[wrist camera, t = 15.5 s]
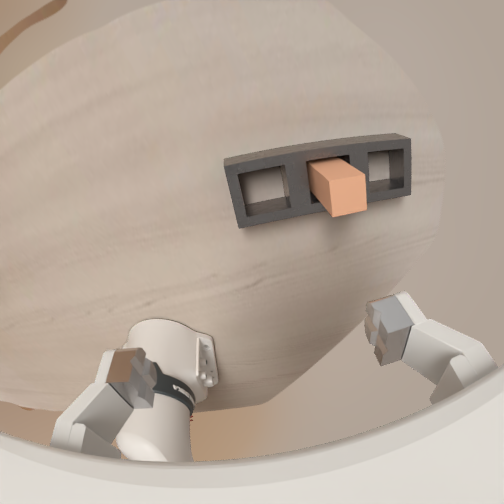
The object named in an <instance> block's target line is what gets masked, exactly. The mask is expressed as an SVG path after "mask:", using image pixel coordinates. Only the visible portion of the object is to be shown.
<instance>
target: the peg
mask: <svg viewBox="0 0 504 504" xmlns="http://www.w3.org/2000/svg"><path fill="white" fill-rule="evenodd" d="M306 166H307V174H308V182H309V189H310V190H311V192H312V193H313V194H314V195H315V196H316V198H317V199H318V200H319V201H320V202H321V204H322V205H323V206H324V207H325V208H326V210H327V211H328V212H329V213H330V215H331V216H332V217H337V216H341V215H346V214H350V213H355V212H360V211H364V210H367V199H366V181H365V174H364V173H362V172H361V171H359V170H357V169H356V168H354V167H353V166H351V165H350V164H348V163H347V162H345V161H343V160H342V159H340V158H338V157H337V156H335V157H328V158H321V159H315V160H309V161H306Z"/></svg>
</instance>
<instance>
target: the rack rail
mask: <svg viewBox="0 0 504 504" xmlns="http://www.w3.org/2000/svg"><path fill="white" fill-rule="evenodd" d="M382 150H389V164H390V179H384V180H378V181H371V182H369V168H368V152H373V151H382ZM335 156H338V158H340V159H342V160H343V161H345V162H347V163H348V164H350V165H351V166H353V167H354V168H356V169H357V170H359V171H361V172H362V173H364V174H365V181H366V199H367V203H369V202H374V201H380V200H385V199H391V198H396V197H402V196H408V195H411V138H408V137H405V136H402V135H399V134H396V133H392V134H380V135H368V136H358V137H349V138H341V139H333V140H325V141H318V142H311V143H304V144H298V145H292V146H286V147H280V148H275V149H269V150H264V151H259V152H254V153H249V154H244V155H239V156H235V157H230V158H226V159H224V169H225V173H226V177H227V181H228V186H229V190H230V194H231V198H232V202H233V207H234V211H235V215H236V219H237V223H238V227H239V228H244V227H248V226H253V225H258V224H262V223H267V222H272V221H277V220H282V219H286V218H291V217H296V216H301V215H306V214H311V213H316V212H321V211H326V208H325V207H324V206H323V205H322V204H321V202H320V201H319V200H318V199H317V198H316V196H315V195H314V194H313V193H312V192H310V190H309V182H308V174H307V166H306V161H309V160H315V159H321V158H328V157H335ZM275 166H280V168H281V174H282V180H283V187H284V193H285V197H281V198H276V199H272V200H267V201H262V202H257V203H252V204H248V205H244V200H243V196H242V191H241V187H240V182H239V178H238V174H240V173H245V172H250V171H255V170H260V169H265V168H270V167H275Z"/></svg>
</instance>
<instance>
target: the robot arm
mask: <svg viewBox="0 0 504 504" xmlns="http://www.w3.org/2000/svg"><path fill="white" fill-rule="evenodd" d="M366 312H367V313H368V316H367V317H366V319H365V332H366V336H367V339H368V341H369V343H370V344H372V345H374V346H375V351H374V353H375V355H376V357H377V359H378V362H379V364H380V366H383V365H386V364H390V363H393V362H395V361H398V360H402V361H403V362H404V363H406V364H407V365H408V366H410V367H411V368H413V369H414V370H416V371H417V372H419V373H420V374H421V375H423V376H424V377H426V378H427V379H429V380H430V381H431V382H433V383H434V384H436V385H437V386H436V388H435V390H434V391H433V393H432V395H431V397H430V401H431V403H432V405H431V406H429V407H427V408H425V409H422V410H420V411H418V412H416V413H413V414H411V415H409V416H406V417H404V418H401V419H399V420H396V421H394V422H391V423H389V424H386V425H383V426H380V427H378V428H375V429H372V430H369V431H366V432H363V433H360V434H357V435H354V436H350V437H347V438H344V439H340V440H337V441H333V442H329V443H325V444H321V445H317V446H313V447H309V448H304V449H299V450H294V451H289V452H283V453H277V454H271V455H265V456H258V457H250V458H242V459H231V460H218V461H199V462H194V461H193V457H192V453H191V444H190V421H193V420H190V418H191V417H193V416H191V415H192V413H193V410H194V408H195V404H197V403H199V402H202V401H203V400H205V399H206V398H207V394H208V388H209V387H213V386H214V385H216V384H217V383H218V380H219V378H218V371H217V364H216V357H215V351H214V344H213V338H212V337H211V336H209V335H206V334H203V333H198V332H195V331H193V330H191V329H190V328H188V327H186V326H184V325H182V324H180V323H177V322H174V321H170V320H165V319H149V320H145V321H142V322H139V323H137V324H136V325H134V326H133V327H132V328H131V330H130V332H129V335H128V341H127V342H126V343H125V344H124V345H123V347H122V349H114V350H106V351H105V352H104V354H103V357H102V360H101V363H100V366H99V369H98V372H97V376H96V379H95V382H94V383H91V384H90V385H89V386H88V387H87V388H86V389H85V390H84V391H83V393H82V394H81V395H80V396H79V397H78V398H77V399H76V400H75V401H74V402H73V403H72V404H71V405H70V406H69V407H68V408H67V409H66V410H65V411H64V413H63V414H62V415H61V416H60V417H59V418H58V419H57V421H56V424H55V428H54V432H53V436H52V439H51V443H50V446H46V445H43V444H39V443H35V442H32V441H28V440H25V439H22V438H19V437H15V436H13V435H10V434H7V433H4V432H2V431H0V504H504V364H503V365H501V366H500V367H497V365H496V363H495V362H494V361H493V359H492V357H491V356H490V354H489V353H488V352H487V350H486V349H485V347H484V346H483V344H482V343H481V342H479V341H477V340H475V339H473V338H471V337H469V336H466V335H464V334H462V333H460V332H458V331H456V330H454V329H451V328H449V327H447V326H445V325H443V324H441V323H439V322H436V321H434V320H432V319H429V320H427V318H426V317H425V316H424V314H423V313H422V312H421V310H420V309H419V308H418V306H417V305H416V303H415V302H414V301H413V299H412V298H411V297H410V295H409V294H408V293H407V292H406V291H403V292H399V293H396V294H393V295H390V296H386V297H383V298H380V299H377V300H373V301H370V302H368V303H367V305H366ZM115 437H116V443H117V445H118V447H119V449H120V450H118V449H117V448H116V447H114V446H113V445H111V443H112V442H113V440H114V439H115ZM120 451H121V452H122V453H123V454H124V455H125V456H126V457H127V458H128V459H129V460H128V459H121V452H120Z"/></svg>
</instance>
